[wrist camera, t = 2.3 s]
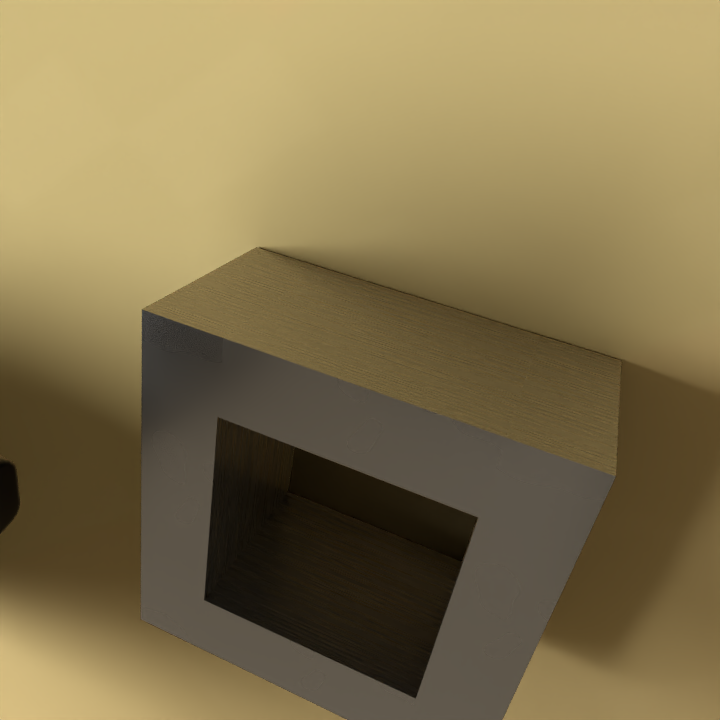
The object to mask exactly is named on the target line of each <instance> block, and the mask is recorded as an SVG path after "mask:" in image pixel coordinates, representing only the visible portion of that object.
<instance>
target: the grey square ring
mask: <svg viewBox="0 0 720 720" xmlns="http://www.w3.org/2000/svg"><path fill="white" fill-rule="evenodd" d="M620 380H621V360H618V359H615V358H612V357H609V356H605V355H602V354H599V353H596V352H593V351H589V350H586V349H583V348H580V347H576V346H573V345H570V344H567V343H563V342H560V341H557V340H554V339H551V338H547V337H544V336H541V335H538V334H534V333H531V332H528V331H525V330H522V329H518V328H515V327H512V326H509V325H505V324H502V323H499V322H496V321H493V320H489V319H486V318H483V317H480V316H476V315H473V314H470V313H467V312H463V311H460V310H457V309H454V308H451V307H447V306H444V305H441V304H438V303H434V302H431V301H428V300H425V299H422V298H418V297H415V296H412V295H409V294H405V293H402V292H399V291H396V290H393V289H389V288H386V287H383V286H380V285H376V284H373V283H370V282H367V281H363V280H360V279H357V278H354V277H351V276H347V275H344V274H341V273H338V272H334V271H331V270H328V269H325V268H322V267H318V266H315V265H312V264H309V263H305V262H302V261H299V260H296V259H293V258H289V257H286V256H283V255H280V254H276V253H273V252H270V251H267V250H264V249H260V248H257V247H256V248H254V249H253V250H251V251H249V252H247V253H245V254H243V255H241V256H240V257H238V258H236V259H234V260H232V261H230V262H229V263H227V264H225V265H223V266H221V267H219V268H217V269H216V270H214V271H212V272H210V273H208V274H206V275H205V276H203V277H201V278H199V279H197V280H195V281H194V282H192V283H190V284H188V285H186V286H184V287H182V288H181V289H179V290H177V291H175V292H173V293H171V294H170V295H168V296H166V297H164V298H162V299H160V300H158V301H157V302H155V303H153V304H151V305H149V306H147V307H146V308H144V309H142V438H141V620H143V621H145V622H147V623H149V624H152V625H154V626H156V627H158V628H160V629H162V630H164V631H166V632H168V633H170V634H172V635H174V636H176V637H178V638H180V639H182V640H184V641H187V642H189V643H191V644H193V645H195V646H197V647H199V648H201V649H203V650H205V651H207V652H209V653H211V654H213V655H215V656H217V657H219V658H222V659H224V660H226V661H228V662H230V663H232V664H234V665H236V666H238V667H240V668H242V669H244V670H246V671H248V672H250V673H252V674H254V675H257V676H259V677H261V678H263V679H265V680H267V681H269V682H271V683H273V684H275V685H277V686H279V687H281V688H283V689H285V690H287V691H289V692H291V693H294V694H296V695H298V696H300V697H302V698H304V699H306V700H308V701H310V702H312V703H314V704H316V705H318V706H320V707H322V708H324V709H326V710H329V711H331V712H333V713H335V714H337V715H339V716H341V717H343V718H345V719H347V720H502V719H503V717H504V715H505V713H506V711H507V709H508V707H509V704H510V702H511V700H512V698H513V696H514V694H515V692H516V689H517V687H518V685H519V683H520V681H521V679H522V677H523V674H524V672H525V670H526V668H527V666H528V664H529V662H530V659H531V657H532V655H533V653H534V651H535V649H536V647H537V644H538V642H539V640H540V638H541V636H542V634H543V632H544V629H545V627H546V625H547V623H548V621H549V619H550V617H551V614H552V612H553V610H554V608H555V606H556V604H557V602H558V599H559V597H560V595H561V593H562V591H563V589H564V587H565V584H566V582H567V580H568V578H569V576H570V574H571V572H572V569H573V567H574V565H575V563H576V561H577V559H578V557H579V554H580V552H581V550H582V548H583V546H584V544H585V542H586V539H587V537H588V535H589V533H590V531H591V529H592V527H593V524H594V522H595V520H596V518H597V516H598V514H599V512H600V509H601V507H602V505H603V503H604V501H605V499H606V497H607V495H608V492H609V490H610V488H611V486H612V484H613V482H614V480H615V477H616V466H617V444H618V423H619V402H620ZM295 447H297V448H299V449H302V450H305V451H307V452H310V453H312V454H315V455H318V456H320V457H323V458H325V459H328V460H331V461H333V462H336V463H338V464H341V465H343V466H346V467H349V468H351V469H354V470H356V471H359V472H362V473H364V474H367V475H369V476H372V477H375V478H377V479H380V480H382V481H385V482H388V483H390V484H393V485H395V486H398V487H400V488H403V489H406V490H408V491H411V492H413V493H416V494H419V495H421V496H424V497H426V498H429V499H432V500H434V501H437V502H439V503H442V504H445V505H447V506H450V507H452V508H455V509H458V510H460V511H463V512H465V513H468V514H470V515H473V516H476V517H477V519H476V522H475V525H474V528H473V531H472V534H471V536H470V539H469V542H468V545H467V548H466V551H465V554H464V557H463V560H462V562H461V561H459V560H456V559H454V558H451V557H449V556H446V555H444V554H441V553H439V552H437V551H434V550H432V549H429V548H427V547H424V546H422V545H419V544H417V543H414V542H412V541H409V540H407V539H404V538H402V537H400V536H397V535H395V534H392V533H390V532H387V531H385V530H382V529H380V528H377V527H375V526H372V525H370V524H367V523H365V522H362V521H360V520H358V519H355V518H353V517H350V516H348V515H345V514H343V513H340V512H338V511H335V510H333V509H330V508H328V507H325V506H323V505H320V504H318V503H316V502H313V501H311V500H308V499H306V498H303V497H301V496H298V495H296V494H293V493H291V492H288V490H289V483H290V476H291V470H292V463H293V456H294V450H295Z"/></svg>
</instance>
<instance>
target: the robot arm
mask: <svg viewBox="0 0 720 720" xmlns="http://www.w3.org/2000/svg"><path fill="white" fill-rule="evenodd" d="M19 506H20V496H19V487H18V479H17V470H16V466H15V464H14V463H13V462H12V461H11V460H9V459H7V458H4V457H2V456H0V534H1V533H2V532H3V531H4V530H5V528H6V527H7V526H8V525H9V524H10V523H11V522H12V520H13V519H14V518H15V516H16V514H17V512H18V510H19Z"/></svg>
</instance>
